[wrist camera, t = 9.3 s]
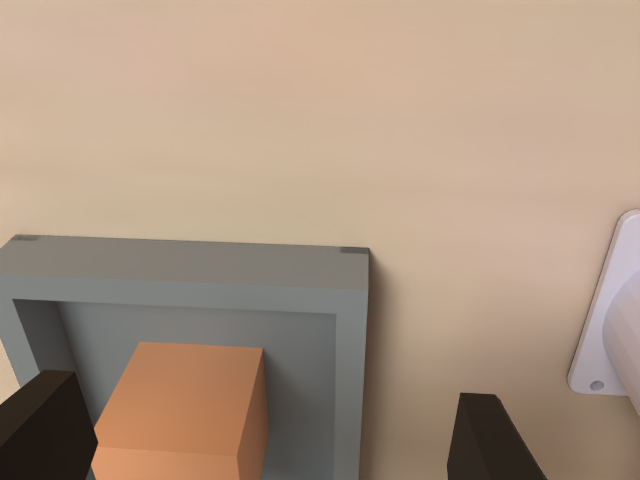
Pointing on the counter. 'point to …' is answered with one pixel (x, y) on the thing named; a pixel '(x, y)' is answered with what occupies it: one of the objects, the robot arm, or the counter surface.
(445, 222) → the counter surface
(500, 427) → the robot arm
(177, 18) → the counter surface
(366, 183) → the counter surface
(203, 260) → the slate tray
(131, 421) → the orange block
